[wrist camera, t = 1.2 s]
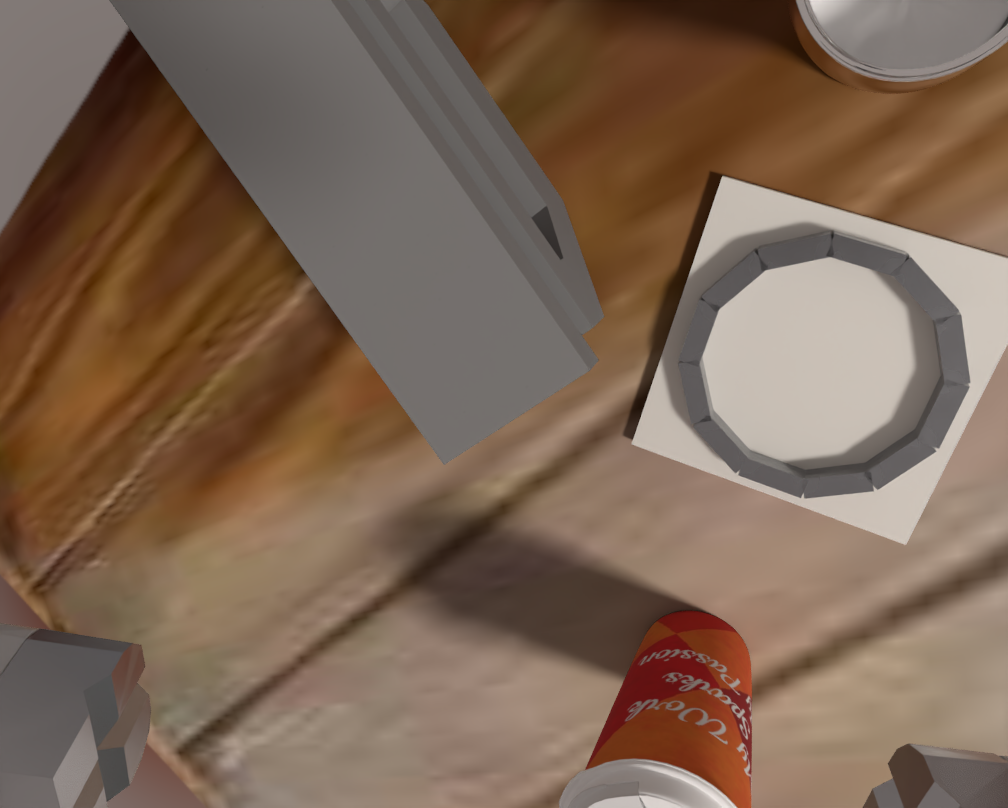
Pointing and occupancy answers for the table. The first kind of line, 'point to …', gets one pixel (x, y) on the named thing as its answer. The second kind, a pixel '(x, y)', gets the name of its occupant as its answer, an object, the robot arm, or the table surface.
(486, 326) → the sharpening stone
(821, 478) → the steel ring collar
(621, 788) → the coffee cup
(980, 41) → the steel tumbler
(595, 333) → the table surface
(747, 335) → the pale board
